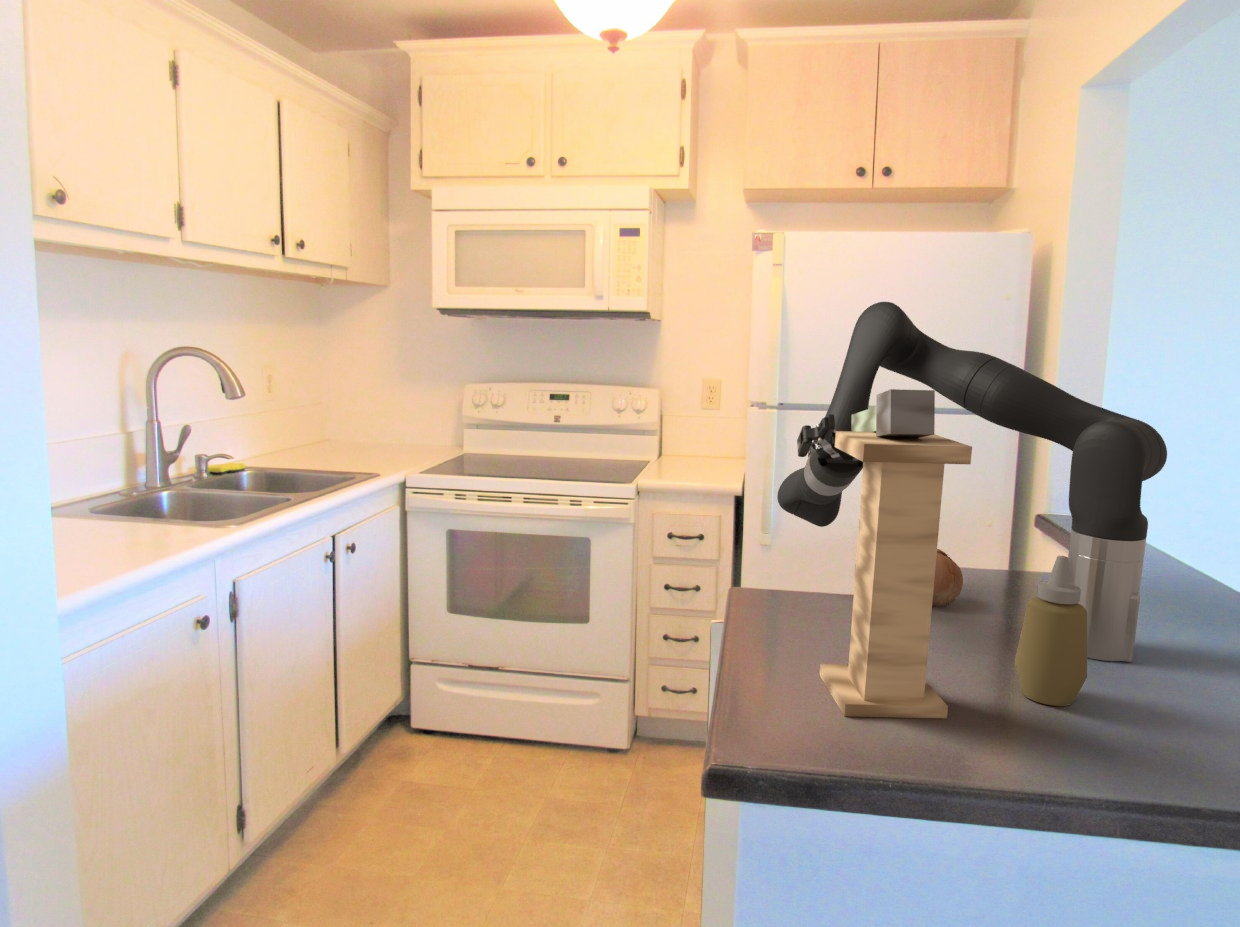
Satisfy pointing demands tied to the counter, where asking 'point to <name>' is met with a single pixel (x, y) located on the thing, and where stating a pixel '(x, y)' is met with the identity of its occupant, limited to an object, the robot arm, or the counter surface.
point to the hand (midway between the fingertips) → (863, 421)
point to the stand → (893, 576)
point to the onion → (946, 580)
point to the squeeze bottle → (1053, 641)
